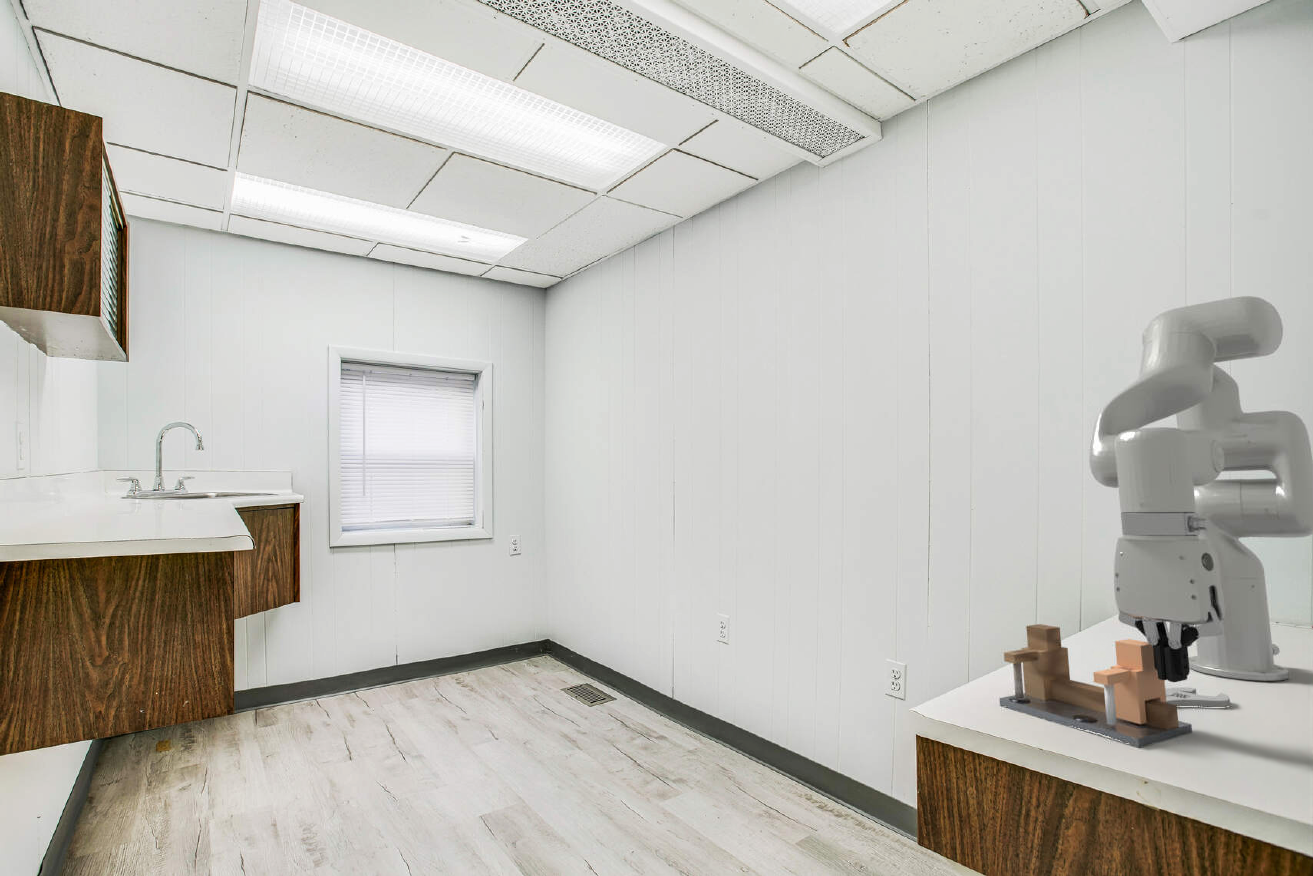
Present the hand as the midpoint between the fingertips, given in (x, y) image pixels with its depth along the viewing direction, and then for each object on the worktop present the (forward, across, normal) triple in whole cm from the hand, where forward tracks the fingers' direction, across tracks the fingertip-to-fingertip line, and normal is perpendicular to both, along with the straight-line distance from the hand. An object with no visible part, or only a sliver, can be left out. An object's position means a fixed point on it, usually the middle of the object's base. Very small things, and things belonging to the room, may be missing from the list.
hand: (1172, 679), depth 79 cm
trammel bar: (+6, +9, +2) cm, 11 cm away
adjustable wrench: (+8, +9, -10) cm, 15 cm away
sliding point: (+6, +4, +2) cm, 7 cm away
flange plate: (+7, +9, +2) cm, 12 cm away
